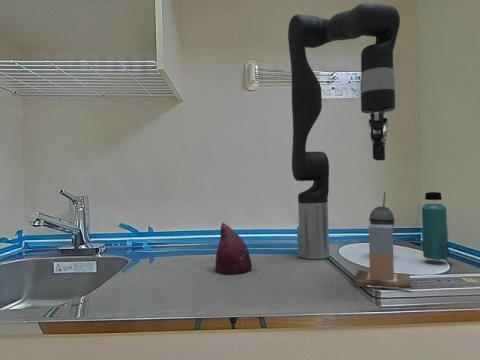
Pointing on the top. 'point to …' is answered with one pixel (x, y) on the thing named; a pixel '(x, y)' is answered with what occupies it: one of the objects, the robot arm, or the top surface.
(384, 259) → the terracotta block
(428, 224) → the beverage bottle
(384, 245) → the slate block
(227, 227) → the vegetable
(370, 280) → the board
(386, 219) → the beverage cup
